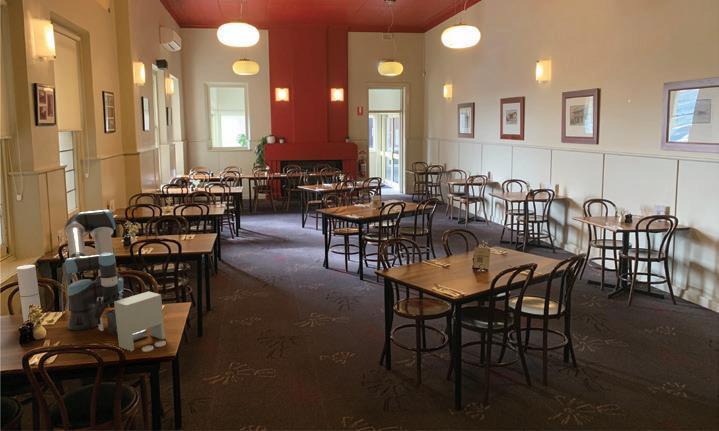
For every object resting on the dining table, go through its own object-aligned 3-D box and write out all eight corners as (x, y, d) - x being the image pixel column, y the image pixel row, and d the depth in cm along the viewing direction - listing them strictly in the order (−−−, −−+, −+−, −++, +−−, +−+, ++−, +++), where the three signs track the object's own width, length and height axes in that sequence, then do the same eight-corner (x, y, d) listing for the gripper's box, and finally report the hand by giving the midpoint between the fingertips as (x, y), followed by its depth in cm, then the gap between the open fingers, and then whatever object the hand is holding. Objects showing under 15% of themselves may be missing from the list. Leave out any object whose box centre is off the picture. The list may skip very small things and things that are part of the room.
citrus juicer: (71, 319, 312) (65, 264, 306) (55, 318, 313) (48, 264, 308) (85, 312, 323) (79, 259, 317) (69, 311, 324) (62, 259, 319)
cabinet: (119, 346, 272) (114, 301, 268) (152, 334, 286) (148, 291, 282) (131, 351, 266) (126, 305, 262) (165, 338, 280) (160, 294, 277)
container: (21, 321, 310) (14, 267, 305) (39, 317, 316) (32, 263, 311) (26, 325, 304) (19, 270, 299) (44, 321, 310) (37, 266, 305)
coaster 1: (140, 350, 268) (140, 347, 268) (151, 346, 271) (151, 344, 271) (144, 353, 265) (144, 350, 264) (155, 350, 268) (154, 347, 267)
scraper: (100, 335, 286) (97, 314, 284) (124, 327, 297) (122, 307, 295) (122, 344, 275) (120, 322, 273) (147, 335, 285) (145, 314, 283)
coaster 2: (152, 345, 273) (152, 343, 273) (161, 342, 277) (161, 339, 276) (158, 348, 270) (158, 345, 270) (168, 344, 274) (167, 342, 274)
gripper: (89, 292, 274) (94, 335, 278) (136, 279, 293) (140, 319, 297) (81, 290, 278) (86, 332, 282) (128, 277, 298) (132, 316, 302)
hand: (114, 325), depth 290 cm, fingers open, 13 cm apart
